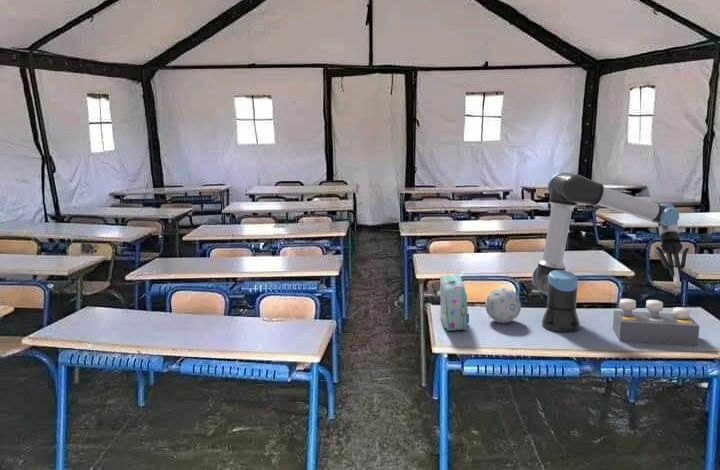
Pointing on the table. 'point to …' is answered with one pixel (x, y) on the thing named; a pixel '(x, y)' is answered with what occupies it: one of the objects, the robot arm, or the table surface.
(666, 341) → the console
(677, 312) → the button right
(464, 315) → the lunch box
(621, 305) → the button left
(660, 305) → the button middle
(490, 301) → the puzzle ball
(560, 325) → the robot arm
